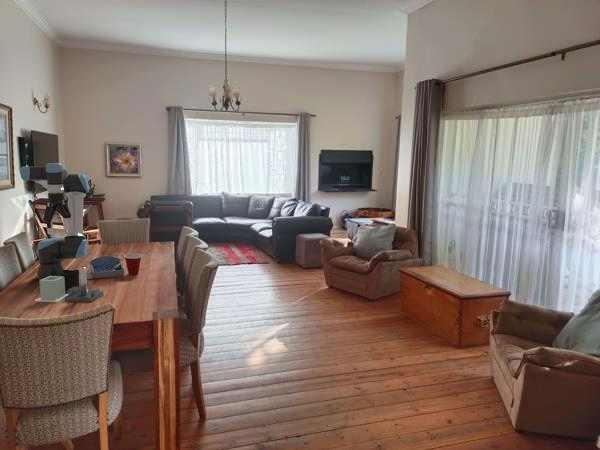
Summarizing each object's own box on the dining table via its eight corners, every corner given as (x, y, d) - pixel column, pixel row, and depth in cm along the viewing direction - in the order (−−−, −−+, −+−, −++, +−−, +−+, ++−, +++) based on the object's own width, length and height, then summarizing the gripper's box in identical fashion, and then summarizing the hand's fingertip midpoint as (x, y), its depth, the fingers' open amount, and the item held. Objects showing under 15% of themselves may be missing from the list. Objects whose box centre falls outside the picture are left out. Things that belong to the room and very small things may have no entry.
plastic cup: (136, 276, 271) (136, 257, 269) (121, 275, 273) (120, 256, 271) (146, 272, 281) (145, 253, 280) (131, 271, 283) (130, 253, 282)
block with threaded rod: (64, 300, 223) (62, 270, 220) (78, 293, 235) (76, 264, 232) (90, 301, 222) (89, 271, 219) (103, 294, 233) (101, 265, 231)
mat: (34, 301, 221) (34, 300, 221) (49, 294, 233) (49, 293, 233) (57, 302, 220) (57, 301, 220) (71, 295, 232) (71, 294, 232)
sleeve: (40, 299, 223) (39, 280, 221) (50, 294, 231) (49, 276, 229) (55, 299, 222) (54, 280, 221) (65, 295, 230) (64, 276, 228)
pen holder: (67, 291, 238) (65, 273, 236) (57, 289, 243) (56, 271, 241) (83, 287, 246) (82, 270, 244) (73, 285, 251) (72, 268, 249)
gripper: (47, 194, 220) (50, 236, 223) (76, 191, 244) (78, 228, 248) (33, 194, 220) (36, 235, 224) (63, 190, 245) (66, 228, 248)
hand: (58, 232), depth 236 cm, fingers open, 13 cm apart
